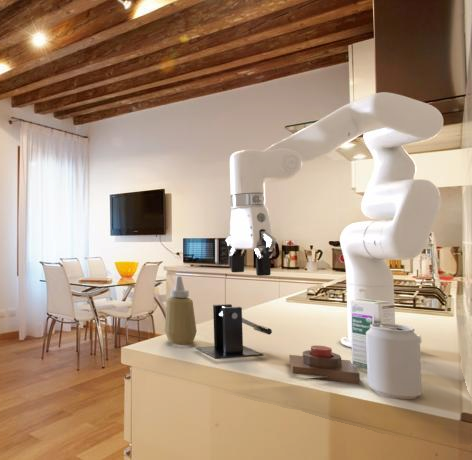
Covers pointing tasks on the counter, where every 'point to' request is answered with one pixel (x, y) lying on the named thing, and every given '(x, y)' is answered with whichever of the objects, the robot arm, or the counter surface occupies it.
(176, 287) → the squeeze bottle
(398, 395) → the can
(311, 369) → the button block
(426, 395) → the counter surface
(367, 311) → the syrup box
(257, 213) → the robot arm
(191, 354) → the counter surface
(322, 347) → the button
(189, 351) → the counter surface
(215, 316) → the bracket
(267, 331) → the lever
